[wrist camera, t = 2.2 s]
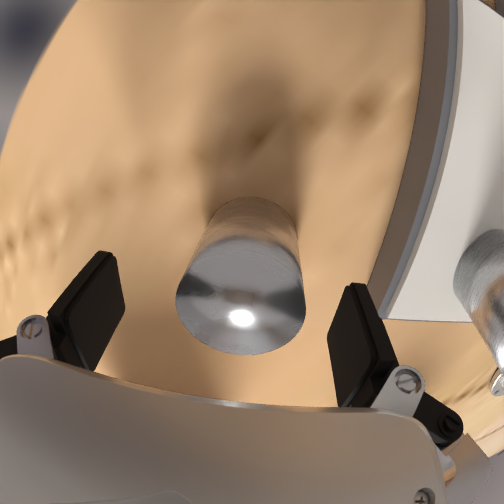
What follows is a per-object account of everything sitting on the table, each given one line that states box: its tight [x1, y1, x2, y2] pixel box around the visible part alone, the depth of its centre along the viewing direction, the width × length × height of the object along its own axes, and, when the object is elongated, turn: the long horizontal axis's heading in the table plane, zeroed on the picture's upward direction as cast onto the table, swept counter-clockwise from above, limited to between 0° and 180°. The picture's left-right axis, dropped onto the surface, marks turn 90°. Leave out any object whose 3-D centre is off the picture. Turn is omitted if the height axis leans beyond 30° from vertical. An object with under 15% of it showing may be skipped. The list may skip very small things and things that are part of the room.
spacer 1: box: [176, 197, 306, 355], centre depth 13 cm, size 5×5×6 cm
